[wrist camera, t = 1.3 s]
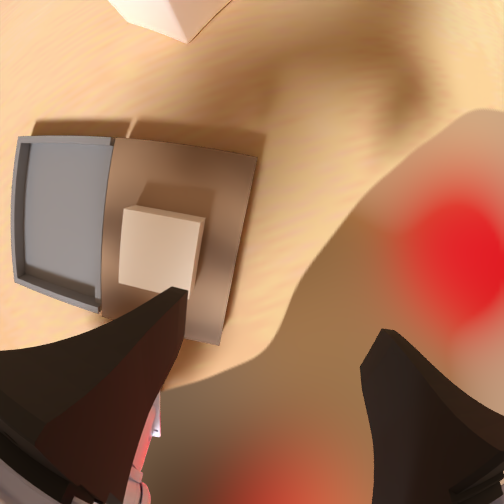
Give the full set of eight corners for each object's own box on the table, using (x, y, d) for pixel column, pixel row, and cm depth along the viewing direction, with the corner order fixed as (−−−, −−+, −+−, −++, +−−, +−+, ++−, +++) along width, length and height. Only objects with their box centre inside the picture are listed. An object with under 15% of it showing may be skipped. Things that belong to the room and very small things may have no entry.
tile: (194, 287, 19) (188, 299, 17) (129, 272, 19) (118, 282, 17) (205, 217, 18) (200, 222, 16) (135, 205, 17) (123, 208, 15)
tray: (107, 304, 22) (98, 313, 20) (24, 276, 21) (14, 282, 19) (121, 139, 18) (111, 137, 16) (30, 137, 17) (18, 136, 15)
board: (221, 332, 22) (219, 345, 20) (111, 305, 22) (102, 316, 20) (256, 159, 19) (257, 157, 17) (127, 140, 18) (115, 137, 16)
